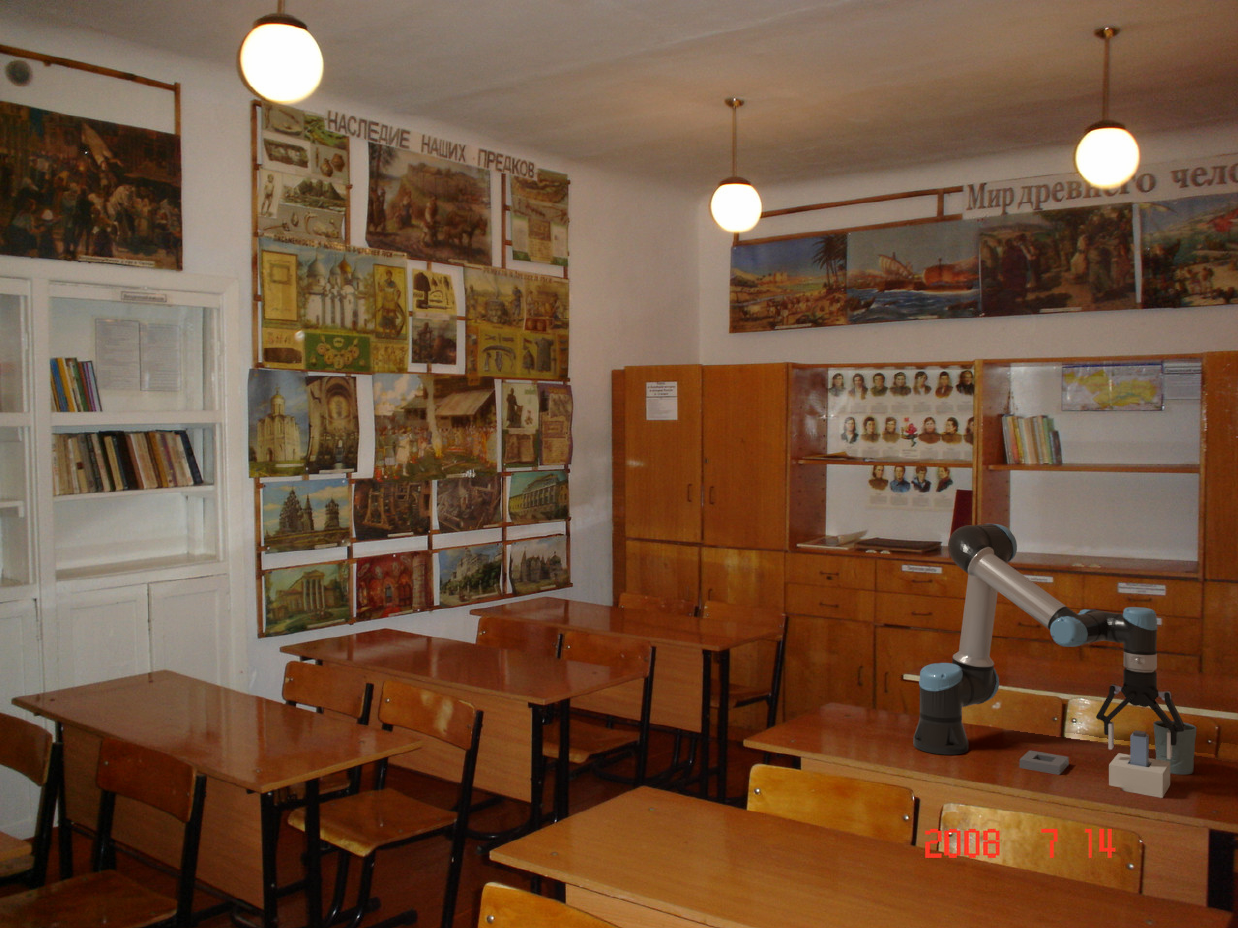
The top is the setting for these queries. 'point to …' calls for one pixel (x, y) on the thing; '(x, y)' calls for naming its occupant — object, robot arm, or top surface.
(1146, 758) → the plug
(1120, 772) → the port
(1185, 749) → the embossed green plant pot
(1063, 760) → the grey square socket block
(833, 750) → the top surface
